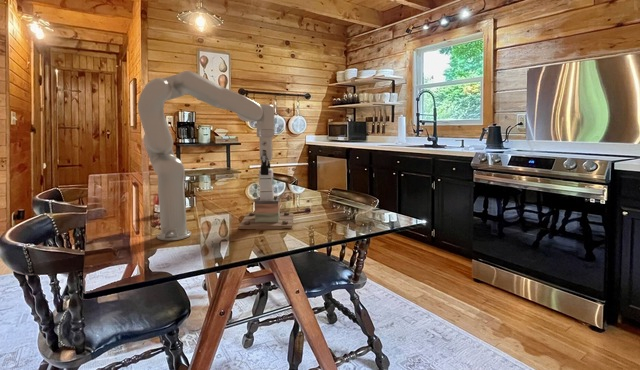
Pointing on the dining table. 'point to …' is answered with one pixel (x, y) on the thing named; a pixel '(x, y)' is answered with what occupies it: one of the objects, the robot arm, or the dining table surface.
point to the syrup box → (266, 186)
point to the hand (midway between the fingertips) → (265, 173)
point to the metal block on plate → (267, 216)
